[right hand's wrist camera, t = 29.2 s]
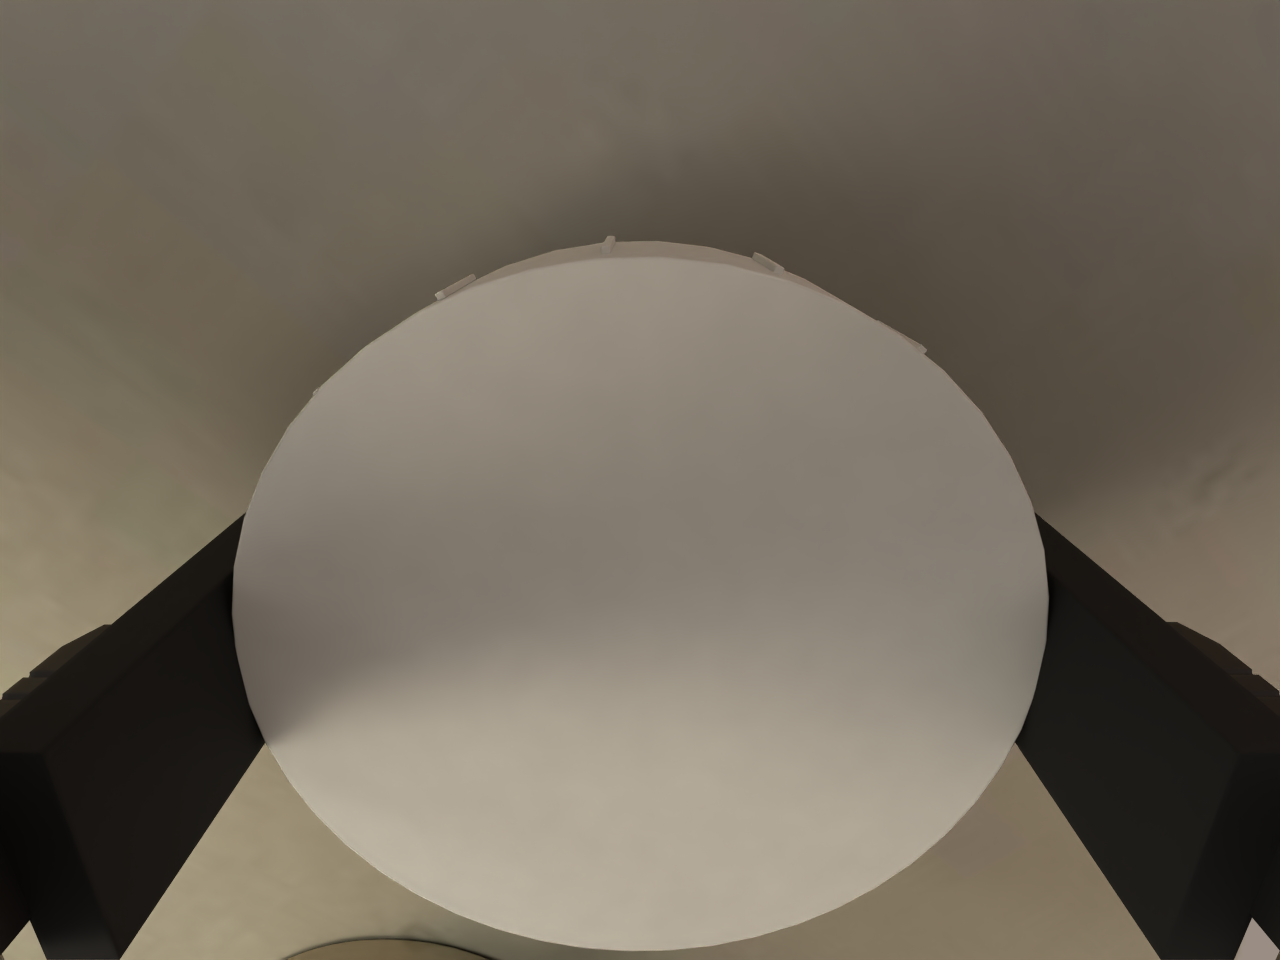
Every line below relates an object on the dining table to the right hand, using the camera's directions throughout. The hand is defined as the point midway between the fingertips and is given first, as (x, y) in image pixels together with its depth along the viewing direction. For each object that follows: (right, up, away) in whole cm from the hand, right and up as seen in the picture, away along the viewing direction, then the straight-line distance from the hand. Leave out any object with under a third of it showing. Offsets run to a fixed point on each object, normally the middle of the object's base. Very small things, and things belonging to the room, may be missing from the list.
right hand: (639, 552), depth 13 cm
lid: (0, -1, -3) cm, 3 cm away
